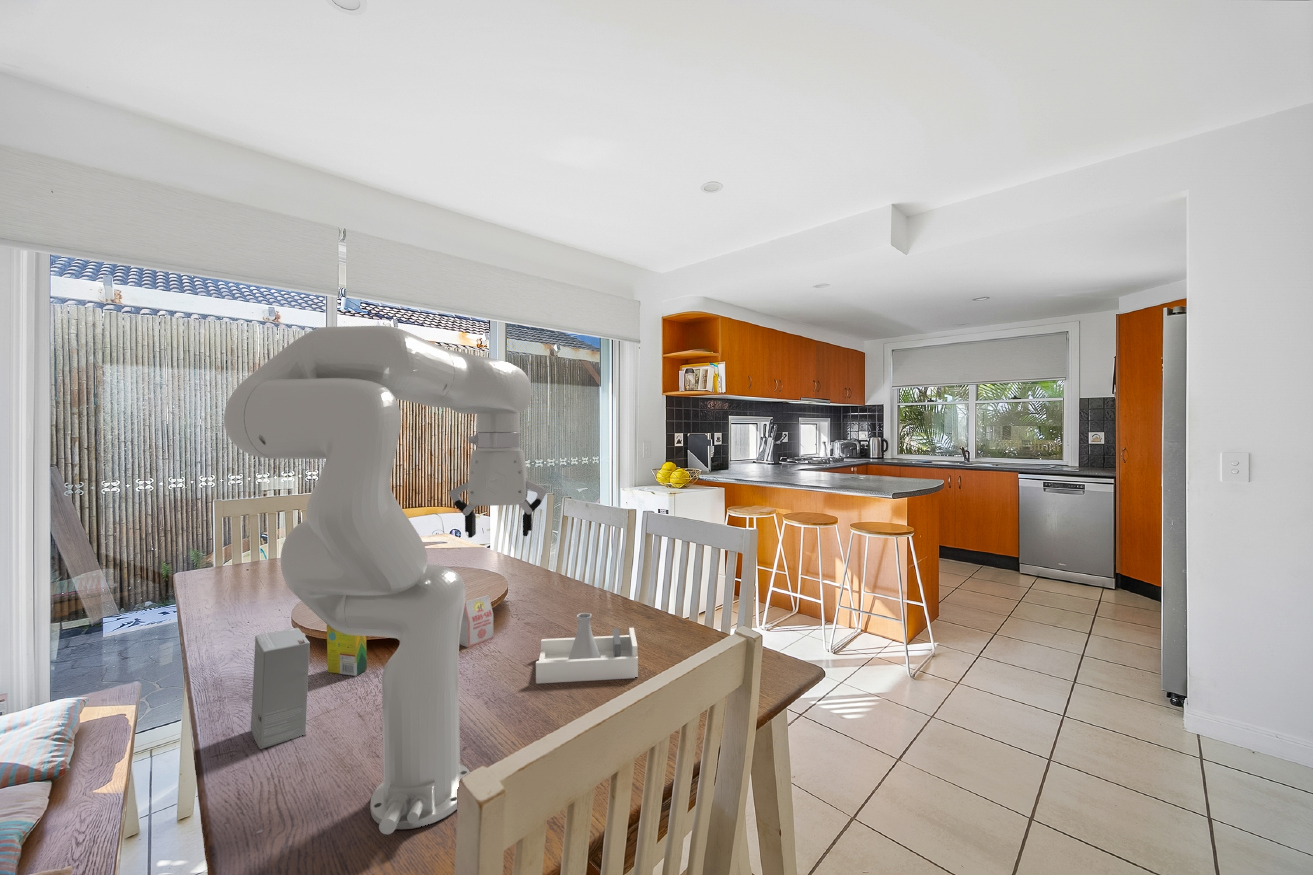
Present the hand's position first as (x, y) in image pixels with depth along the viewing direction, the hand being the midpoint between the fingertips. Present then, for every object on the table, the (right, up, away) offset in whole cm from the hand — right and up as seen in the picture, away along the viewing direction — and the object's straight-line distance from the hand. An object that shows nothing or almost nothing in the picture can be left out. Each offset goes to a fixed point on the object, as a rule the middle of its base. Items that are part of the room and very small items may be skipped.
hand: (499, 535), depth 100 cm
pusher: (+21, -29, +14) cm, 38 cm away
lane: (+15, -30, +14) cm, 36 cm away
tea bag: (-13, -30, +27) cm, 43 cm away
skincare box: (-33, -31, -10) cm, 46 cm away
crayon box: (-35, -30, +12) cm, 47 cm away
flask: (+14, -29, +13) cm, 35 cm away
